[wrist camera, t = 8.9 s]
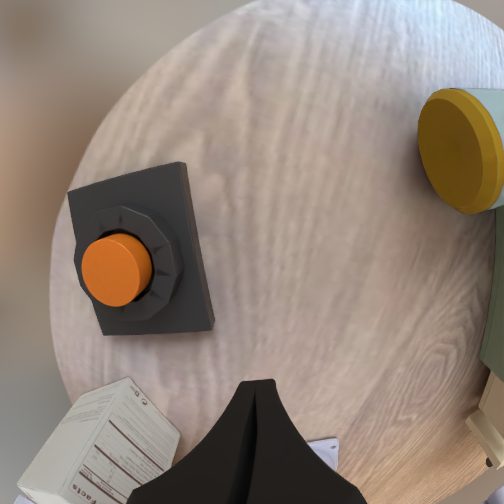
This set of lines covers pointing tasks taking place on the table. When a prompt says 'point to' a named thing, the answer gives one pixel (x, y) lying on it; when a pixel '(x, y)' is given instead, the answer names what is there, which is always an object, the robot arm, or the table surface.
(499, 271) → the cabinet
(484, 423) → the drawer
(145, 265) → the button
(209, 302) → the panel
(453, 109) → the bottle
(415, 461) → the table surface
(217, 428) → the robot arm
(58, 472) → the white packaging box
